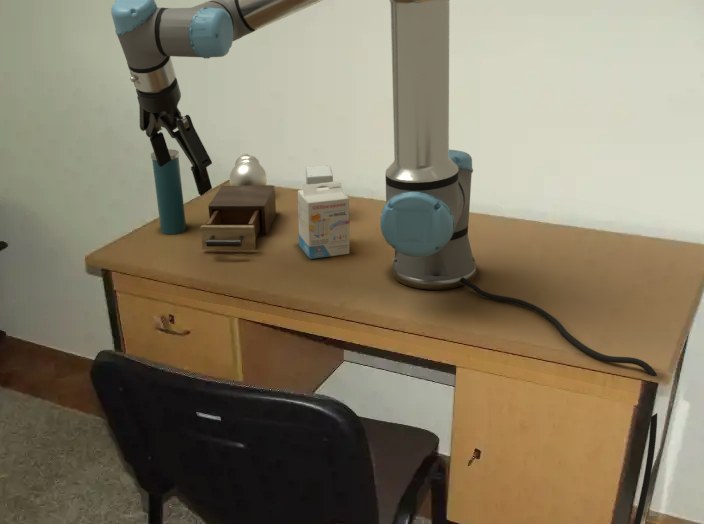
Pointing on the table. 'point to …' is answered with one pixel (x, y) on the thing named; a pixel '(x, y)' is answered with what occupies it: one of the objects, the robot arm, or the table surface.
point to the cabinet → (247, 202)
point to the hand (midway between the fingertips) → (184, 176)
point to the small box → (319, 175)
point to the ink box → (323, 220)
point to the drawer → (232, 229)
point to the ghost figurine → (248, 172)
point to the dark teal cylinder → (169, 194)
